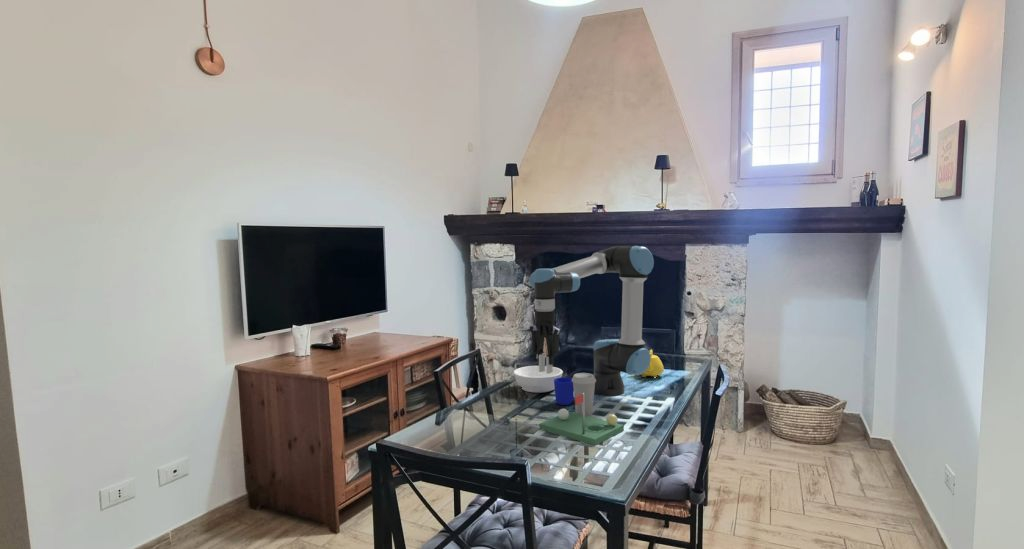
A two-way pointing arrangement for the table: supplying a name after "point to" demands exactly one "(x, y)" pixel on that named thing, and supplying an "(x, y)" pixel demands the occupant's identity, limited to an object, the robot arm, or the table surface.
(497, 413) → the table surface
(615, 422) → the yellow ball
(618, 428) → the putting mat
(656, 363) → the teapot
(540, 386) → the bowl
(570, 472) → the table surface
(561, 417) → the white ball
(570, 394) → the mug
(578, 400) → the flag pin
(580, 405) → the coffee cup
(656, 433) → the table surface
